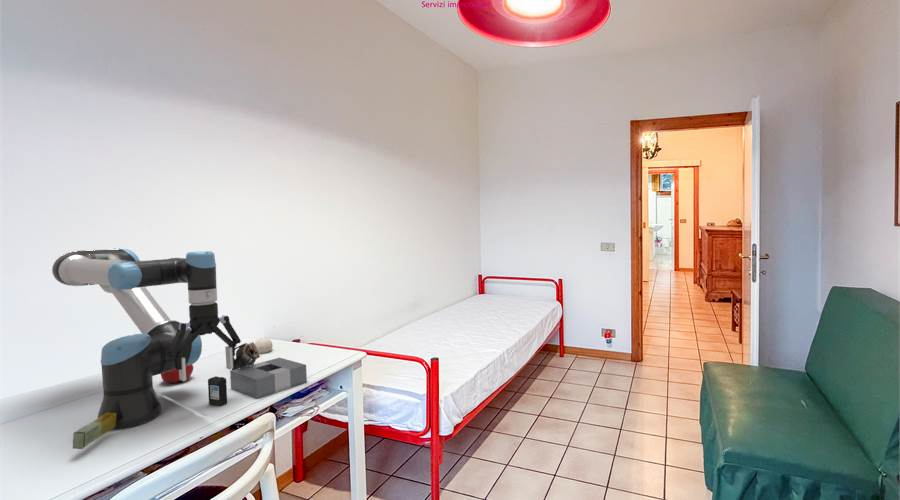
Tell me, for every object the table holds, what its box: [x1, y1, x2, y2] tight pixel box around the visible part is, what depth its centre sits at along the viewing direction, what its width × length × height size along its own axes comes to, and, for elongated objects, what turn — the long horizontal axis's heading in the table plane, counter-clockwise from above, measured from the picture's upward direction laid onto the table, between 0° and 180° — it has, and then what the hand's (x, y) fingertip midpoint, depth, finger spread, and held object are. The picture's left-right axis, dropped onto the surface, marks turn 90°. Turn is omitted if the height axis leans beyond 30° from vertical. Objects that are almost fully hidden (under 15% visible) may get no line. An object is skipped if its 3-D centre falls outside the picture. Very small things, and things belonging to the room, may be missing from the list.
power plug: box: [231, 352, 257, 370], centre depth 158 cm, size 6×8×12 cm
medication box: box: [72, 413, 116, 450], centre depth 115 cm, size 12×3×4 cm, turn 4°
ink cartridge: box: [207, 376, 228, 407], centre depth 136 cm, size 5×2×8 cm, turn 69°
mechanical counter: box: [233, 342, 261, 364], centre depth 170 cm, size 7×13×10 cm, turn 89°
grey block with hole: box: [229, 357, 308, 400], centre depth 151 cm, size 18×16×6 cm
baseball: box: [254, 337, 273, 354], centre depth 191 cm, size 7×7×7 cm
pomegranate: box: [160, 364, 194, 384], centre depth 160 cm, size 10×10×9 cm
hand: (207, 373), depth 135 cm, fingers open, 13 cm apart
